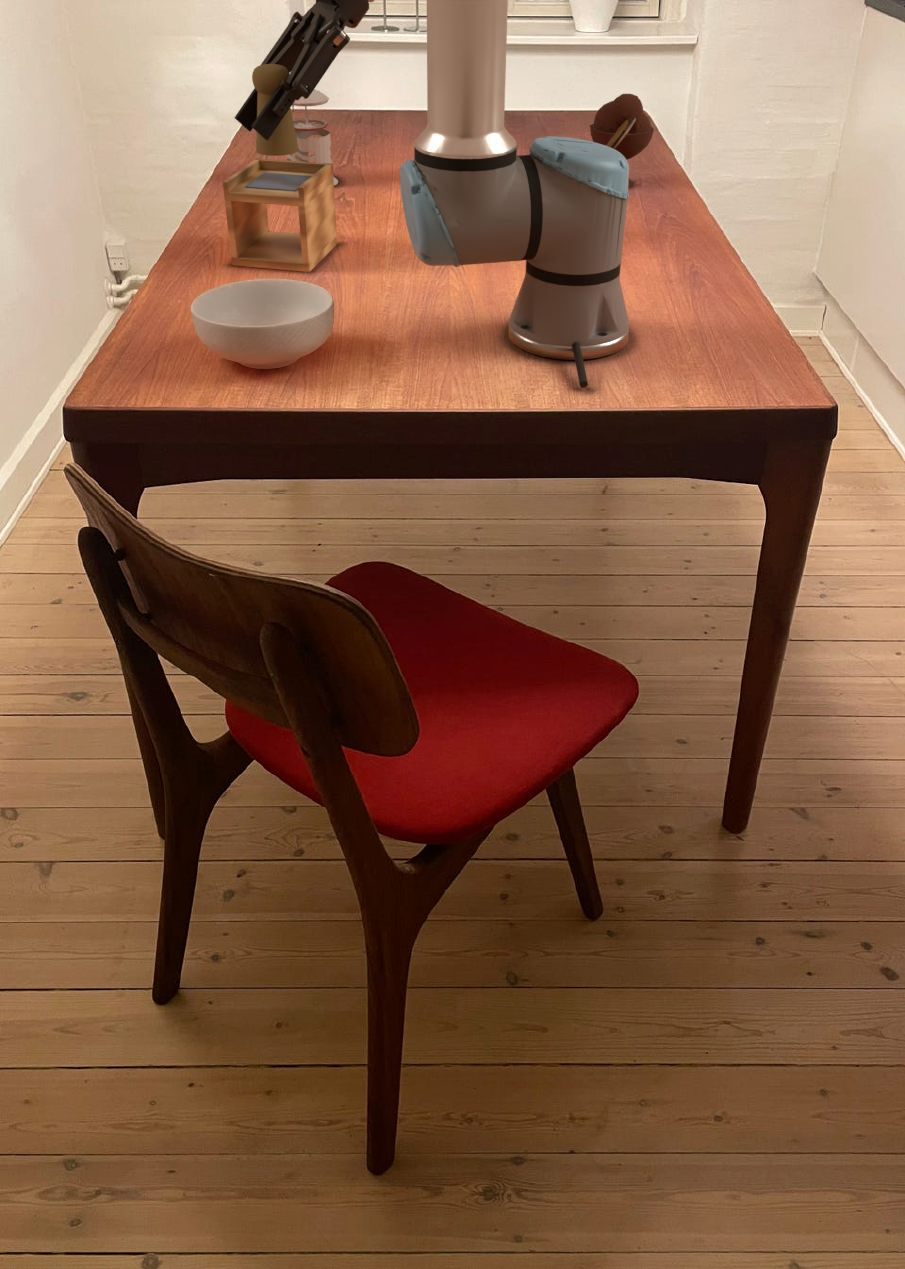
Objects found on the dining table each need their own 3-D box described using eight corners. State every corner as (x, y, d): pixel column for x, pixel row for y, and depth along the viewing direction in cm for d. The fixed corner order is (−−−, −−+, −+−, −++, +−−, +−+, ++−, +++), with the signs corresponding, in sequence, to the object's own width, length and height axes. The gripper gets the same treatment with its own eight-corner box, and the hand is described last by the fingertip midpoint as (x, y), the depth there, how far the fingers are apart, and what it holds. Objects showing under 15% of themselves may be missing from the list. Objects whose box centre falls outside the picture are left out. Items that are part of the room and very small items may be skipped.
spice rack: (309, 272, 161) (303, 187, 154) (231, 265, 164) (222, 181, 156) (337, 244, 172) (332, 163, 164) (263, 238, 174) (256, 158, 167)
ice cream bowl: (656, 181, 200) (666, 90, 191) (630, 196, 193) (639, 102, 184) (603, 172, 205) (611, 83, 196) (575, 186, 197) (582, 94, 188)
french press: (312, 193, 193) (301, 31, 178) (264, 181, 199) (249, 23, 184) (349, 180, 200) (342, 23, 185) (302, 170, 205) (291, 16, 190)
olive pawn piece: (249, 154, 157) (240, 68, 150) (265, 143, 162) (257, 59, 155) (290, 157, 156) (283, 70, 149) (304, 146, 160) (298, 61, 154)
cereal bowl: (339, 329, 144) (336, 275, 140) (334, 384, 131) (331, 325, 127) (207, 331, 143) (200, 276, 139) (188, 385, 130) (180, 327, 126)
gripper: (399, 14, 149) (297, 161, 152) (337, -3, 161) (244, 133, 164) (362, -29, 143) (257, 124, 146) (301, -44, 156) (205, 98, 159)
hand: (250, 128), depth 155 cm, fingers closed on olive pawn piece, 5 cm apart
